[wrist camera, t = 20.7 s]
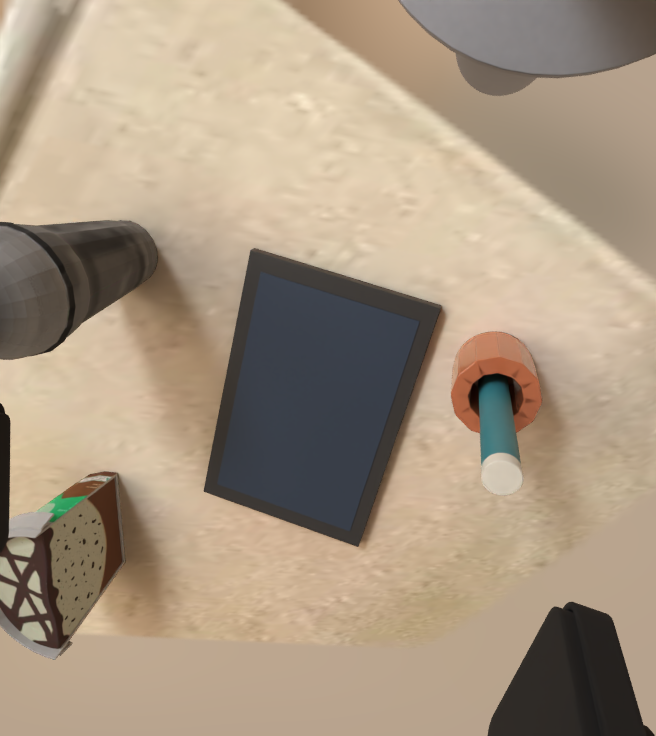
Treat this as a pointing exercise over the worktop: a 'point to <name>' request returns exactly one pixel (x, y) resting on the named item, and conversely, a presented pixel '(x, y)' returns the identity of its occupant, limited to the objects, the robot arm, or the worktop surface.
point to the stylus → (498, 437)
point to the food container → (60, 564)
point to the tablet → (315, 394)
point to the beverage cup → (65, 278)
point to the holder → (490, 358)
